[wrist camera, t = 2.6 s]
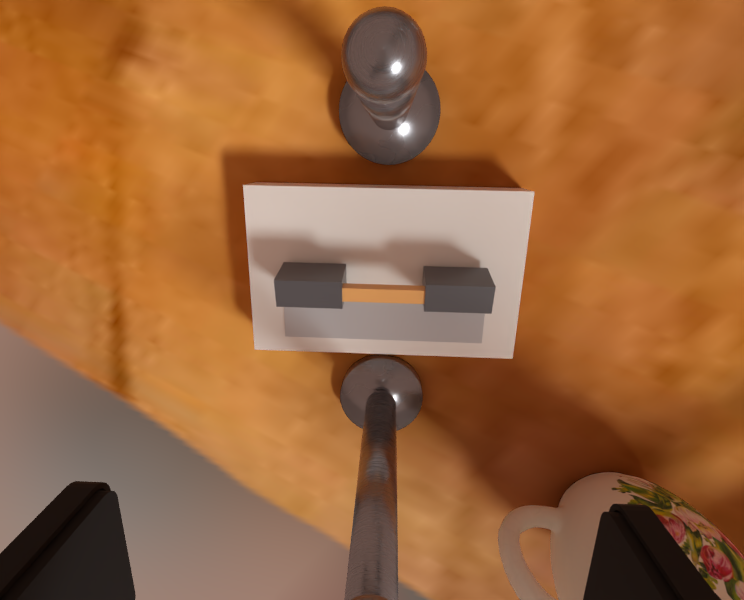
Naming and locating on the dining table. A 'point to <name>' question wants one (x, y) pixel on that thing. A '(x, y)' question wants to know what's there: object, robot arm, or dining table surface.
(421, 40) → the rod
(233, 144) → the dining table surface
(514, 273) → the panel
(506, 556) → the pitcher
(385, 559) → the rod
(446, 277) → the square dumbbell
